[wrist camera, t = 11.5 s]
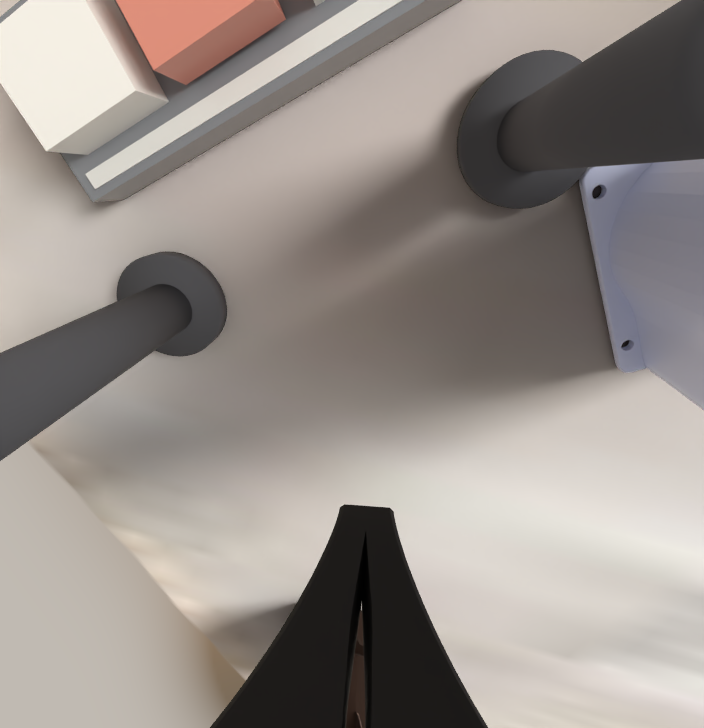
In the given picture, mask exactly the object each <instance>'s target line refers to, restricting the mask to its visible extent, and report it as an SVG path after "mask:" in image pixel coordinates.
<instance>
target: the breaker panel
mask: <svg viewBox="0 0 704 728" xmlns="http://www.w3.org/2000/svg"><path fill="white" fill-rule="evenodd" d="M278 1H279V3H280V6H281V8H282V11H283V13H284V16H285V18H286V20H284V21H283V22H281V23H280V24H278V25H277V26H275V27H274V28H272V29H271V30H269V31H268V32H266V33H265V34H263V35H261V36H260V37H258V38H257V39H255V40H254V41H252V42H251V43H249V44H248V45H246V46H245V47H243V48H242V49H240V50H239V51H237V52H236V53H234V54H233V55H231V56H229V57H228V58H226V59H225V60H223V61H222V62H220V63H219V64H217V65H216V66H214V67H213V68H211V69H210V70H208V71H207V72H205V73H204V74H202V75H201V76H199V77H197V78H196V79H194V80H193V81H191V82H190V83H188V84H187V85H185V84H182V83H180V82H178V81H176V80H174V79H172V78H169V77H167V76H165V75H163V74H161V73H158V72H156V71H154V70H153V68H152V66H151V65H150V63H149V61H148V59H147V57H146V55H145V53H144V52H143V50H142V48H141V46H140V44H139V42H138V40H137V38H136V37H135V35H134V33H133V31H132V29H131V27H130V25H129V24H128V22H127V20H126V18H125V16H124V14H123V12H122V11H121V9H120V7H119V5H118V3H117V1H116V0H20V1H19V2H18V3H16V4H15V5H14V6H13V7H12V8H10V9H9V10H8V11H7V12H6V13H5V14H3V15H2V16H1V17H0V83H1V85H2V86H3V88H4V89H5V91H6V92H7V94H8V95H9V97H10V98H11V100H12V101H13V103H14V104H15V106H16V107H17V109H18V110H19V112H20V113H21V115H22V116H23V118H24V119H25V121H26V122H27V124H28V125H29V127H30V128H31V130H32V131H33V133H34V134H35V135H36V137H37V138H38V140H39V141H40V143H41V144H42V146H43V147H44V149H45V150H46V151H47V152H59V153H60V154H61V155H62V157H63V158H64V160H65V161H66V163H67V164H68V166H69V167H70V169H71V170H72V172H73V173H74V175H75V176H76V178H77V179H78V181H79V182H80V184H81V185H82V187H83V188H84V190H85V192H86V193H87V195H88V196H89V198H90V199H91V201H92V202H102V201H115V200H124V199H126V198H127V197H129V196H131V195H133V194H134V193H136V192H138V191H139V190H141V189H143V188H144V187H146V186H148V185H149V184H151V183H153V182H155V181H156V180H158V179H160V178H161V177H163V176H165V175H166V174H168V173H170V172H171V171H173V170H175V169H177V168H178V167H180V166H182V165H183V164H185V163H187V162H188V161H190V160H192V159H193V158H195V157H197V156H199V155H200V154H202V153H204V152H205V151H207V150H209V149H210V148H212V147H214V146H215V145H217V144H219V143H221V142H222V141H224V140H226V139H227V138H229V137H231V136H232V135H234V134H236V133H237V132H239V131H241V130H242V129H244V128H246V127H248V126H249V125H251V124H253V123H254V122H256V121H258V120H259V119H261V118H263V117H264V116H266V115H268V114H270V113H271V112H273V111H275V110H276V109H278V108H280V107H281V106H283V105H285V104H286V103H288V102H290V101H292V100H293V99H295V98H297V97H298V96H300V95H302V94H303V93H305V92H307V91H308V90H310V89H312V88H314V87H315V86H317V85H319V84H320V83H322V82H324V81H325V80H327V79H329V78H330V77H332V76H334V75H336V74H337V73H339V72H341V71H342V70H344V69H346V68H347V67H349V66H351V65H352V64H354V63H356V62H358V61H359V60H361V59H363V58H364V57H366V56H368V55H369V54H371V53H373V52H374V51H376V50H378V49H380V48H381V47H383V46H385V45H386V44H388V43H390V42H391V41H393V40H395V39H396V38H398V37H400V36H401V35H403V34H405V33H407V32H408V31H410V30H412V29H413V28H415V27H417V26H418V25H420V24H422V23H423V22H425V21H427V20H429V19H430V18H432V17H434V16H435V15H437V14H439V13H440V12H442V11H444V10H445V9H447V8H449V7H451V6H452V5H454V4H456V3H457V2H459V1H461V0H278Z"/></svg>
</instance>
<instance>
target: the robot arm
mask: <svg viewBox="0 0 704 728" xmlns="http://www.w3.org/2000/svg"><path fill="white" fill-rule="evenodd" d="M597 185H600V186H601V188H602V191H601V194H600V196H599V197H597V198H595V199H594V198H593V196H592V191H593V189H594V188H595V187H596V186H597ZM579 186H580V191H581V196H582V201H583V206H584V211H585V216H586V221H587V225H588V230H589V235H590V240H591V245H592V250H593V255H594V260H595V265H596V270H597V275H598V280H599V285H600V290H601V295H602V300H603V305H604V310H605V314H606V319H607V324H608V329H609V334H610V339H611V344H612V349H613V354H614V359H615V364H616V366H617V368H618V369H620V370H621V371H622V372H625V373H631V372H635V371H638V370H642V369H645V368H647V369H649V370H650V371H651V372H653V373H654V374H655V375H657V376H658V377H659V378H661V379H662V380H663V381H665V382H666V383H668V384H669V385H670V386H672V387H673V388H674V389H676V390H677V391H678V392H680V393H681V394H682V395H684V396H685V397H686V398H688V399H689V400H691V401H692V402H693V403H695V404H696V405H697V406H699V407H700V408H701V409H703V410H704V159H698V160H684V161H670V162H656V163H642V164H628V165H614V166H600V167H588V168H587V170H586V171H585V172H584V174H583V175H582V176H581V177H580V179H579ZM627 340H629V343H628V345H627V346H625V347H621V346H622V344H623V342H625V341H627ZM361 603H362V620H363V652H364V682H365V728H488V727H487V725H486V723H485V722H484V720H483V718H482V717H481V715H480V713H479V712H478V710H477V708H476V707H475V705H474V703H473V702H472V700H471V698H470V696H469V694H468V693H467V691H466V689H465V687H464V685H463V683H462V682H461V680H460V678H459V676H458V674H457V672H456V671H455V669H454V667H453V665H452V663H451V661H450V659H449V657H448V655H447V653H446V651H445V649H444V647H443V645H442V643H441V641H440V639H439V637H438V635H437V633H436V631H435V629H434V626H433V624H432V622H431V620H430V618H429V615H428V613H427V611H426V609H425V606H424V604H423V602H422V599H421V597H420V594H419V592H418V590H417V587H416V584H415V582H414V579H413V577H412V574H411V571H410V569H409V566H408V563H407V561H406V558H405V555H404V552H403V548H402V545H401V542H400V539H399V535H398V531H397V528H396V523H395V518H394V512H393V511H392V510H391V509H390V508H385V507H371V506H358V505H343V506H342V507H340V510H339V514H338V518H337V521H336V524H335V526H334V529H333V532H332V534H331V537H330V539H329V541H328V544H327V546H326V548H325V550H324V552H323V554H322V557H321V559H320V561H319V563H318V565H317V567H316V569H315V571H314V573H313V575H312V577H311V579H310V581H309V582H308V584H307V586H306V588H305V590H304V591H303V593H302V595H301V597H300V598H299V600H298V602H297V604H296V606H295V607H294V609H293V611H292V612H291V614H290V616H289V617H288V619H287V621H286V622H285V624H284V626H283V627H282V629H281V630H280V632H279V633H278V635H277V636H276V638H275V640H274V641H273V643H272V644H271V646H270V647H269V649H268V650H267V652H266V653H265V655H264V656H263V657H262V659H261V660H260V662H259V663H258V665H257V666H256V667H255V669H254V670H253V672H252V673H251V674H250V676H249V677H248V679H247V680H246V682H245V683H244V684H243V686H242V687H241V688H240V690H239V691H238V692H237V694H236V695H235V696H234V698H233V699H232V700H231V702H230V703H229V704H228V706H227V707H226V708H225V709H224V711H223V712H222V713H221V714H220V716H219V717H218V718H217V719H216V721H215V722H214V723H213V724H212V726H211V727H210V728H346V719H347V709H348V700H349V692H350V685H351V677H352V670H353V662H354V655H355V648H356V640H357V633H358V625H359V618H360V610H361Z"/></svg>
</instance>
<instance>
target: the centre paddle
mask: <svg viewBox="0 0 704 728" xmlns="http://www.w3.org/2000/svg"><path fill="white" fill-rule="evenodd" d="M116 1H117V3H118V5H119V7H120V9H121V11H122V12H123V14H124V16H125V18H126V20H127V22H128V24H129V25H130V27H131V29H132V31H133V33H134V35H135V37H136V38H137V40H138V42H139V44H140V46H141V48H142V50H143V52H144V53H145V55H146V57H147V59H148V61H149V63H150V65H151V66H152V68H153V70H154V71H156V72H158V73H161V74H163V75H165V76H167V77H169V78H172V79H174V80H176V81H178V82H180V83H182V84H185V85H187V84H188V83H190V82H191V81H193V80H194V79H196V78H197V77H199V76H201V75H202V74H204V73H205V72H207V71H208V70H210V69H211V68H213V67H214V66H216V65H217V64H219V63H220V62H222V61H223V60H225V59H226V58H228V57H229V56H231V55H233V54H234V53H236V52H237V51H239V50H240V49H242V48H243V47H245V46H246V45H248V44H249V43H251V42H252V41H254V40H255V39H257V38H258V37H260V36H261V35H263V34H265V33H266V32H268V31H269V30H271V29H272V28H274V27H275V26H277V25H278V24H280V23H281V22H283V21H284V20H286V18H285V16H284V13H283V11H282V8H281V6H280V3H279V1H278V0H116Z"/></svg>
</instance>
